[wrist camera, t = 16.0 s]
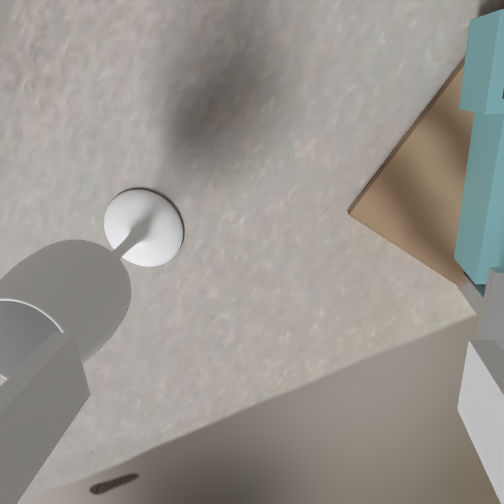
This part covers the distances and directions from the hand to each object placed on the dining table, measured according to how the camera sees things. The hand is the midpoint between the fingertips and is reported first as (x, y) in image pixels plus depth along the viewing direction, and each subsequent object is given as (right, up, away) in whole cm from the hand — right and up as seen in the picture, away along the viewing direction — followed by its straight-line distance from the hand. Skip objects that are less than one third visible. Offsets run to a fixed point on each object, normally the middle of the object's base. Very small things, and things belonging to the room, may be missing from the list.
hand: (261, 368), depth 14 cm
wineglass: (-12, +7, +30) cm, 33 cm away
